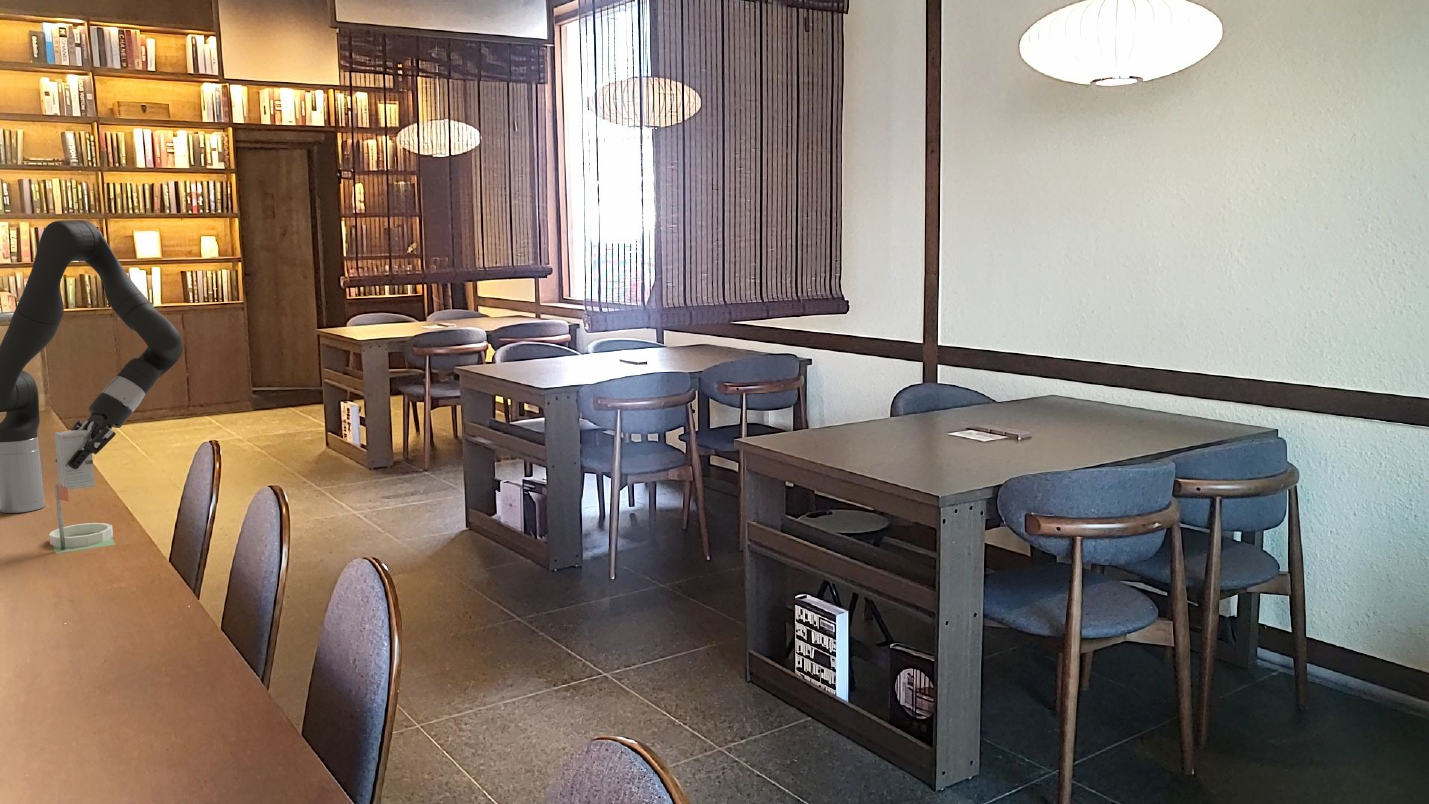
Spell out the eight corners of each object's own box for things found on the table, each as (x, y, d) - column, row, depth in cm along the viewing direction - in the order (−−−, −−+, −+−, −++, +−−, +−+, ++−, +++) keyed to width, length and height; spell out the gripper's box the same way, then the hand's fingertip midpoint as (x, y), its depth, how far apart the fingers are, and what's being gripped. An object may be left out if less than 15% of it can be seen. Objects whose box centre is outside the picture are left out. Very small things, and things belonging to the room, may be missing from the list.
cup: (40, 541, 237) (39, 532, 237) (96, 529, 246) (95, 520, 246) (66, 550, 230) (65, 540, 230) (122, 537, 240) (121, 528, 239)
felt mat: (49, 535, 243) (49, 533, 243) (106, 527, 249) (106, 526, 249) (55, 555, 228) (55, 553, 228) (115, 546, 234) (115, 544, 234)
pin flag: (60, 549, 231) (53, 484, 228) (64, 548, 231) (57, 483, 229) (71, 553, 228) (64, 487, 226) (75, 552, 228) (68, 486, 226)
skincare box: (64, 491, 233) (58, 435, 231) (58, 488, 236) (52, 432, 234) (96, 486, 237) (91, 431, 235) (90, 483, 240) (84, 428, 238)
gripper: (88, 388, 244) (35, 451, 236) (120, 394, 235) (66, 459, 228) (115, 409, 249) (64, 471, 241) (147, 415, 240) (95, 479, 233)
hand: (65, 465), depth 234 cm, fingers closed on skincare box, 4 cm apart
